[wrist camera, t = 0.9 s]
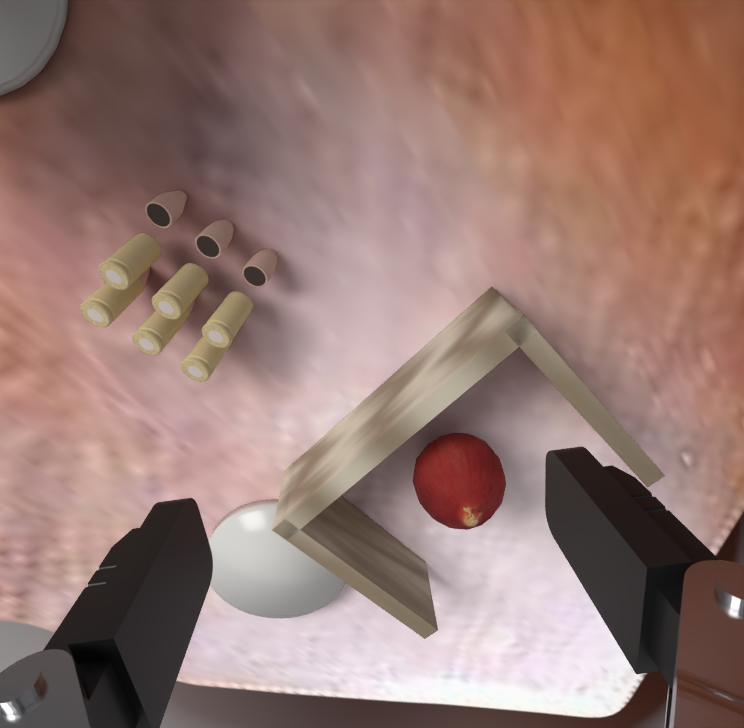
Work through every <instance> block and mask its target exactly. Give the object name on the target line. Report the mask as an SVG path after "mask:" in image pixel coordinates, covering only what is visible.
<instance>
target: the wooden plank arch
mask: <svg viewBox="0 0 744 728" xmlns="http://www.w3.org/2000/svg"><path fill="white" fill-rule="evenodd" d="M518 347H520V348H521V349H522V351H523V352H524V353H525V354H526V355H527V356H528V357H529V358H530V359H531V360H532V362H533V363H534V364H535V365H536V366H537V367H538V368H539V369H540V370H541V371H542V372H543V374H544V375H545V376H546V377H547V378H548V379H549V380H550V381H551V382H552V383H553V385H554V386H555V387H556V388H557V389H558V390H559V391H560V392H561V393H562V394H563V395H564V397H565V398H566V399H567V400H568V401H569V402H570V403H571V404H572V405H573V406H574V407H575V409H576V410H577V411H578V412H579V413H580V414H581V415H582V416H583V417H584V418H585V420H586V421H587V422H588V423H589V424H590V425H591V426H592V427H593V428H594V429H595V430H596V432H597V433H598V434H599V435H600V436H601V437H602V438H603V439H604V440H605V441H606V443H607V444H608V445H609V446H610V447H611V448H612V449H613V450H614V451H615V452H616V453H617V455H618V456H619V457H620V458H621V459H622V460H623V461H624V462H625V463H626V464H627V465H628V467H629V468H630V469H631V470H632V471H633V472H634V473H635V474H636V475H637V476H638V478H639V479H640V480H641V481H642V482H643V483H644V484H645V485H646V486H647V487H649V486H651V485H652V484H653V483H655V482H656V481H658V480H659V479H661V478H662V477H664V476H665V475H664V474H663V473H662V472H661V471H660V469H659V468H658V467H657V466H656V465H655V464H654V463H653V461H652V460H651V459H650V458H649V457H648V456H647V455H646V454H645V452H644V451H643V450H642V449H641V448H640V447H639V446H638V444H637V443H636V442H635V441H634V440H633V439H632V438H631V437H630V435H629V434H628V433H627V432H626V431H625V430H624V429H623V427H622V426H621V425H620V424H619V423H618V422H617V421H616V420H615V418H614V417H613V416H612V415H611V414H610V413H609V412H608V410H607V409H606V408H605V407H604V406H603V405H602V404H601V403H600V401H599V400H598V399H597V398H596V397H595V396H594V395H593V393H592V392H591V391H590V390H589V389H588V388H587V387H586V386H585V384H584V383H583V382H582V381H581V380H580V379H579V378H578V376H577V375H576V374H575V373H574V372H573V371H572V370H571V369H570V367H569V366H568V365H567V364H566V363H565V362H564V361H563V359H562V358H561V357H560V356H559V355H558V354H557V353H556V352H555V350H554V349H553V348H552V347H551V346H550V345H549V344H548V342H547V341H546V340H545V339H544V338H543V337H542V336H541V335H540V333H539V332H538V331H537V330H536V329H535V328H534V327H533V325H532V324H531V323H530V322H529V321H528V320H527V319H526V318H525V316H524V315H523V314H521V313H520V312H519V311H518V310H517V309H516V308H515V307H514V306H512V305H511V304H510V303H509V302H508V301H507V300H506V299H505V298H503V297H502V296H501V295H500V294H499V293H498V292H497V291H496V290H494V289H493V288H492V287H491V288H490V289H489V290H488V291H487V292H485V293H484V294H483V295H482V296H481V297H480V298H479V299H478V300H476V301H475V302H474V303H473V304H472V305H471V306H470V307H469V308H467V309H466V310H465V311H464V312H463V313H462V314H461V315H460V316H458V317H457V318H456V319H455V320H454V321H453V322H452V323H451V324H449V325H448V326H447V327H446V328H445V329H444V330H443V331H442V332H440V333H439V334H438V335H437V336H436V337H435V338H434V339H433V340H432V341H430V342H429V343H428V344H427V345H426V346H425V347H424V348H423V349H421V350H420V351H419V352H418V353H417V354H416V355H415V356H414V357H412V358H411V359H410V360H409V361H408V362H407V363H406V364H405V365H403V366H402V367H401V368H400V369H399V370H398V371H397V372H396V373H394V374H393V375H392V376H391V377H390V378H389V379H388V380H387V381H385V382H384V383H383V384H382V385H381V386H380V387H379V388H378V389H377V390H375V391H374V392H373V393H372V394H371V395H370V396H369V397H368V398H366V399H365V400H364V401H363V402H362V403H361V404H360V405H359V406H357V407H356V408H355V409H354V410H353V411H352V412H351V413H350V414H348V415H347V416H346V417H345V418H344V419H343V420H342V421H341V422H339V423H338V424H337V425H336V426H335V427H334V428H333V429H332V430H330V431H329V432H328V433H327V434H326V435H325V436H324V437H323V438H321V439H320V440H319V441H318V442H317V443H316V444H315V445H314V446H313V447H311V448H310V449H309V450H308V451H307V452H306V453H305V454H304V455H302V456H301V457H300V458H299V459H298V460H297V461H296V462H295V463H293V464H292V465H291V466H290V467H289V468H288V469H287V470H286V471H285V474H284V479H283V483H282V488H281V492H280V496H279V501H278V505H277V510H276V514H275V518H274V523H273V527H272V531H274V532H275V533H277V534H278V535H279V536H281V537H282V538H284V539H285V540H286V541H288V542H289V543H291V544H292V545H294V546H295V547H296V548H298V549H299V550H301V551H302V552H303V553H305V554H306V555H308V556H309V557H310V558H312V559H313V560H315V561H316V562H317V563H319V564H320V565H322V566H323V567H324V568H326V569H327V570H329V571H330V572H332V573H333V574H334V575H336V576H337V577H339V578H340V579H341V580H343V581H344V582H346V583H347V584H348V585H350V586H351V587H353V588H354V589H355V590H357V591H358V592H360V593H361V594H363V595H364V596H365V597H367V598H368V599H370V600H371V601H372V602H374V603H375V604H377V605H378V606H379V607H381V608H382V609H384V610H385V611H386V612H388V613H389V614H391V615H392V616H393V617H395V618H396V619H398V620H399V621H401V622H402V623H403V624H405V625H406V626H408V627H409V628H410V629H412V630H413V631H415V632H416V633H417V634H419V635H420V636H422V637H423V638H424V639H426V638H427V637H428V636H430V635H431V634H433V633H434V632H436V631H437V630H438V628H437V622H436V617H435V611H434V606H433V600H432V595H431V589H430V583H429V578H428V572H427V567H426V562H425V561H423V560H422V559H421V558H420V557H418V556H417V555H416V554H415V553H413V552H412V551H411V550H409V549H408V548H407V547H406V546H404V545H403V544H402V543H400V542H399V541H398V540H397V539H395V538H394V537H393V536H392V535H390V534H389V533H388V532H386V531H385V530H384V529H383V528H381V527H380V526H379V525H378V524H376V523H375V522H374V521H372V520H371V519H370V518H369V517H367V516H366V515H365V514H364V513H362V512H361V511H360V510H358V509H357V508H356V507H355V506H353V505H352V504H351V503H350V502H348V501H347V500H346V499H344V498H343V497H342V496H341V495H342V494H343V493H345V492H346V491H347V490H348V489H349V488H351V487H352V486H353V485H354V484H355V483H357V482H358V481H359V480H360V479H361V478H362V477H364V476H365V475H366V474H367V473H368V472H370V471H371V470H372V469H373V468H374V467H376V466H377V465H378V464H379V463H380V462H382V461H383V460H384V459H385V458H386V457H388V456H389V455H390V454H391V453H392V452H394V451H395V450H396V449H397V448H398V447H400V446H401V445H402V444H403V443H404V442H406V441H407V440H408V439H409V438H410V437H412V436H413V435H414V434H415V433H416V432H418V431H419V430H420V429H421V428H422V427H424V426H425V425H426V424H427V423H428V422H430V421H431V420H432V419H433V418H434V417H436V416H437V415H438V414H439V413H440V412H442V411H443V410H444V409H445V408H446V407H448V406H449V405H450V404H451V403H452V402H454V401H455V400H456V399H457V398H458V397H460V396H461V395H462V394H463V393H464V392H466V391H467V390H468V389H469V388H470V387H472V386H473V385H474V384H475V383H476V382H478V381H479V380H480V379H481V378H482V377H484V376H485V375H486V374H487V373H488V372H490V371H491V370H492V369H493V368H494V367H496V366H497V365H498V364H499V363H500V362H502V361H503V360H504V359H505V358H506V357H508V356H509V355H510V354H511V353H512V352H514V351H515V350H516V349H517V348H518Z"/></svg>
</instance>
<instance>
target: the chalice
mask: <svg viewBox="0 0 744 728" xmlns="http://www.w3.org/2000/svg"><path fill="white" fill-rule="evenodd" d="M67 8H68V0H0V96H1V95H4V94H6V93H8V92H11V91H13V90H16V89H18V88H20V87H23V86H24V85H25V84H26V83H28V82H29V81H30V80H31V79H32V78H34V77H35V76H36V75H37V74H38V73H40V72H41V71H42V70H43V68H44V67H45V65H46V64H47V62H48V61H49V59H50V58H51V56H52V55H53V53H54V52H55V50H56V49H57V46H58V43H59V41H60V38H61V35H62V32H63V29H64V26H65V23H66V18H67Z"/></svg>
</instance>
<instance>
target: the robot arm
mask: <svg viewBox="0 0 744 728" xmlns="http://www.w3.org/2000/svg"><path fill="white" fill-rule="evenodd" d="M545 509H546V517H547V521H548V525H549V528H550V531H551V533H552V535H553V537H554V539H555V541H556V542H557V544H558V546H559V547H560V549H561V550H562V552H563V554H564V555H565V557H566V559H567V560H568V562H569V564H570V565H571V567H572V569H573V570H574V572H575V574H576V575H577V577H578V579H579V580H580V582H581V584H582V585H583V587H584V589H585V590H586V592H587V593H588V595H589V597H590V598H591V600H592V602H593V603H594V605H595V607H596V608H597V610H598V612H599V613H600V615H601V617H602V618H603V620H604V622H605V623H606V625H607V627H608V628H609V630H610V632H611V633H612V635H613V636H614V638H615V640H616V641H617V643H618V645H619V646H620V648H621V650H622V651H623V653H624V655H625V656H626V658H627V660H628V661H629V663H630V665H631V666H632V668H633V670H634V671H635V673H636V674H641V673H649V672H656V671H660V672H661V674H662V675H663V677H664V678H665V680H666V681H667V683H668V684H669V690H668V697H667V707H666V718H665V728H744V565H741V564H738V563H733V562H729V561H721V560H719V559H718V558H717V557H716V556H715V555H714V554H713V553H712V552H711V551H710V550H709V549H708V548H707V547H706V546H705V545H704V544H703V543H702V542H701V541H699V540H698V539H697V538H696V537H695V536H694V535H693V534H692V533H691V532H690V531H689V530H688V529H687V528H686V527H685V526H684V525H683V524H682V523H681V522H680V521H679V520H678V519H677V518H676V517H675V516H674V515H673V514H672V513H671V512H670V511H669V510H668V511H666V509H665V506H664V505H663V504H662V503H661V502H660V501H659V500H658V499H657V498H656V497H652V494H651V493H650V492H649V491H648V490H647V489H646V488H645V487H644V486H643V485H642V484H641V483H640V482H639V481H638V480H637V479H636V478H635V477H633V476H631V475H629V474H627V473H625V472H624V471H622V470H620V469H618V468H616V467H614V466H605V467H603V466H602V465H601V464H600V463H599V462H598V461H597V460H596V459H595V457H594V456H593V455H592V454H591V453H590V452H589V451H588V450H587V449H586V448H584V447H575V448H567V449H560V450H552V451H549V452H548V453H547V455H546V491H545ZM212 573H213V558H212V552H211V548H210V545H209V542H208V538H207V535H206V532H205V528H204V525H203V522H202V518H201V515H200V512H199V509H198V506H197V503H196V501H195V500H194V499H192V498H187V499H180V500H172V501H165V502H158V503H156V504H155V505H154V506H153V508H152V509H151V511H150V513H149V514H148V516H147V517H146V519H145V521H144V522H143V524H142V525H141V527H140V528H136V529H132V530H131V531H130V532H129V533H128V534H126V535H125V536H124V537H123V538H122V539H121V540H120V541H118V542H117V543H116V544H115V545H114V546H113V547H112V548H111V550H110V551H109V553H108V554H107V556H106V557H105V559H104V560H103V562H102V563H101V565H100V566H99V570H97V571H96V572H95V574H94V575H93V577H92V578H91V580H90V581H89V582H88V587H86V588H84V590H83V591H82V593H81V594H80V596H79V597H78V599H77V600H76V602H75V603H74V605H73V606H72V608H71V609H70V611H69V612H68V614H67V615H66V617H65V618H64V620H63V621H62V623H61V624H60V626H59V627H58V629H57V630H56V632H55V633H54V635H53V636H52V638H51V639H50V641H49V642H48V644H47V646H46V647H45V648H44V650H43V651H40V652H37V653H34V654H32V655H29V656H27V657H25V658H23V659H21V660H19V661H17V662H16V663H14V664H13V665H11V666H9V667H8V668H7V669H5V670H4V671H2V672H1V673H0V728H160V725H161V722H162V719H163V716H164V713H165V710H166V708H167V705H168V702H169V699H170V696H171V693H172V691H173V688H174V685H175V682H176V679H177V676H178V674H179V671H180V668H181V665H182V662H183V659H184V657H185V654H186V651H187V648H188V645H189V642H190V640H191V637H192V634H193V631H194V628H195V625H196V623H197V620H198V617H199V614H200V611H201V608H202V606H203V603H204V600H205V597H206V594H207V591H208V589H209V586H210V583H211V579H212Z"/></svg>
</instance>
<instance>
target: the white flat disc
mask: <svg viewBox="0 0 744 728" xmlns="http://www.w3.org/2000/svg"><path fill="white" fill-rule="evenodd" d="M278 501H279V500H276V499H273V500H262V501H256V502H252V503H249V504H246V505H243V506H241V507H239V508H237V509H235V510H233V511H232V512H230V513H229V514H227V515H226V516H225V517H224V518H223V519H222V520H221V521H220V522H219V523H218V524H217V526H216V527H215V528H214V530H213V532H212V534H211V536H210V539H209V545H210V548H211V552H212V558H213V573H212V579H211V583H210V585H211V587H212V588H213V590H214V591H215V592H216V593H217V594H218V595H219V596H220V597H221V598H222V599H223V600H224V601H226V602H227V603H229V604H230V605H232V606H233V607H235V608H237V609H239V610H241V611H244V612H246V613H249V614H253V615H256V616H261V617H268V618H291V617H297V616H301V615H305V614H308V613H311V612H314V611H316V610H318V609H320V608H322V607H323V606H325V605H326V604H328V603H329V602H330V601H331V600H333V599H334V598H335V597H336V596H337V594H338V593H339V592H340V590H341V589H342V587H343V586H344V583H345V582H344V581H343V580H341V579H340V578H339V577H337V576H336V575H334V574H333V573H332V572H330V571H329V570H327V569H326V568H324V567H323V566H322V565H320V564H319V563H317V562H316V561H315V560H313V559H312V558H310V557H309V556H308V555H306V554H305V553H303V552H302V551H301V550H299V549H298V548H296V547H295V546H294V545H292V544H291V543H289V542H288V541H286V540H285V539H284V538H282V537H281V536H279V535H278V534H277V533H275V532H274V531H272V527H273V523H274V518H275V514H276V510H277V505H278Z"/></svg>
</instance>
